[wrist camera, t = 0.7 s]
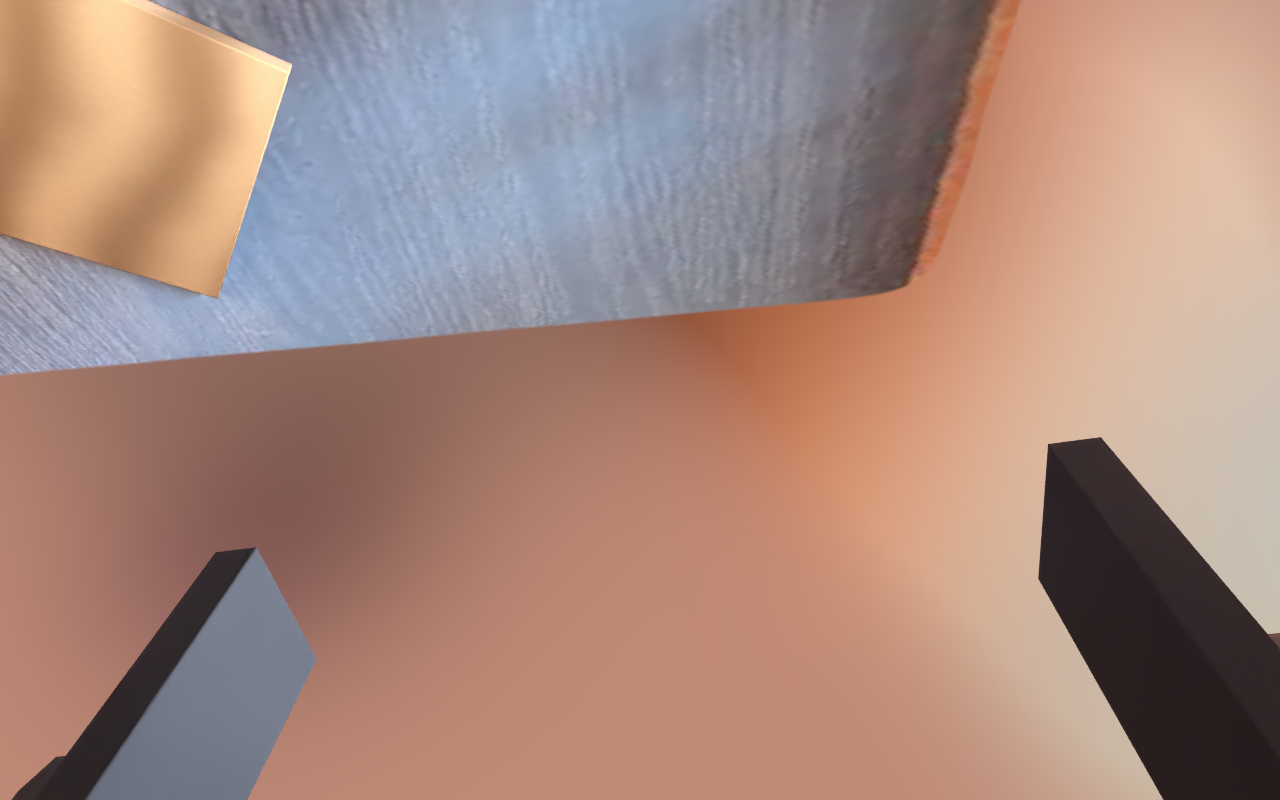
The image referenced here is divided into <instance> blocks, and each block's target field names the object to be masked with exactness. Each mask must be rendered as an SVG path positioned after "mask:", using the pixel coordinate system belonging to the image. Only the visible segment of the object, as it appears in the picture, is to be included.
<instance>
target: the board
mask: <svg viewBox="0 0 1280 800" xmlns="http://www.w3.org/2000/svg"><path fill="white" fill-rule="evenodd" d="M291 67H292V64H291V63H288V62H286V61H284V60H282V59H279V58H277V57H275V56H273V55H270V54H268V53H266V52H264V51H261V50H259V49H257V48H255V47H252V46H250V45H248V44H246V43H243V42H241V41H239V40H237V39H234V38H232V37H230V36H228V35H225V34H223V33H221V32H218V31H216V30H214V29H212V28H209V27H207V26H205V25H203V24H200V23H198V22H196V21H194V20H191V19H189V18H187V17H185V16H182V15H180V14H178V13H176V12H173V11H171V10H169V9H167V8H164V7H162V6H160V5H158V4H155V3H153V2H151V1H149V0H0V233H1V234H4V235H7V236H11V237H14V238H17V239H21V240H24V241H27V242H31V243H34V244H37V245H41V246H44V247H47V248H51V249H54V250H57V251H61V252H64V253H67V254H71V255H74V256H77V257H81V258H84V259H87V260H91V261H94V262H97V263H101V264H104V265H107V266H111V267H114V268H117V269H121V270H124V271H127V272H131V273H134V274H137V275H141V276H144V277H147V278H151V279H154V280H157V281H161V282H164V283H167V284H171V285H174V286H177V287H181V288H184V289H187V290H191V291H194V292H197V293H201V294H204V295H207V296H211V297H214V298H218V297H219V294H220V291H221V287H222V284H223V281H224V278H225V275H226V272H227V269H228V265H229V262H230V259H231V256H232V253H233V250H234V247H235V243H236V240H237V237H238V234H239V231H240V228H241V225H242V221H243V218H244V215H245V212H246V209H247V206H248V202H249V199H250V196H251V193H252V190H253V187H254V184H255V180H256V177H257V174H258V171H259V168H260V165H261V162H262V158H263V155H264V152H265V149H266V146H267V143H268V140H269V136H270V133H271V130H272V127H273V124H274V121H275V117H276V114H277V111H278V108H279V105H280V102H281V99H282V95H283V92H284V89H285V86H286V83H287V80H288V77H289V73H290V70H291Z"/></svg>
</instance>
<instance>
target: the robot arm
mask: <svg viewBox="0 0 1280 800" xmlns="http://www.w3.org/2000/svg"><path fill="white" fill-rule="evenodd" d="M1038 578H1039V581H1040V582H1041V584H1042V586H1043V588H1044V589H1045V591H1046V593H1047V595H1048V596H1049V598H1050V600H1051V601H1052V604H1053V605H1054V607H1055V609H1056V611H1057V612H1058V614H1059V616H1060V618H1061V619H1062V621H1063V623H1064V625H1065V626H1066V628H1067V630H1068V632H1069V633H1070V635H1071V637H1072V639H1073V641H1074V642H1075V644H1076V646H1077V648H1078V650H1079V651H1080V653H1081V655H1082V656H1083V658H1084V660H1085V662H1086V664H1087V665H1088V667H1089V669H1090V671H1091V673H1092V674H1093V676H1094V678H1095V679H1096V681H1097V683H1098V685H1099V687H1100V688H1101V690H1102V692H1103V694H1104V695H1105V697H1106V699H1107V701H1108V703H1109V704H1110V706H1111V708H1112V709H1113V711H1114V713H1115V715H1116V717H1117V718H1118V720H1119V722H1120V724H1121V726H1122V727H1123V729H1124V731H1125V733H1126V734H1127V736H1128V738H1129V740H1130V741H1131V743H1132V745H1133V747H1134V748H1135V750H1136V752H1137V754H1138V756H1139V757H1140V759H1141V761H1142V762H1143V764H1144V766H1145V768H1146V770H1147V772H1148V773H1149V775H1150V776H1151V779H1152V780H1153V782H1154V784H1155V786H1156V787H1157V789H1158V791H1159V793H1160V795H1161V796H1162V798H1163V800H1280V633H1276V634H1267V633H1266V632H1265V631H1264V629H1263V628H1262V627H1261V626H1260V625H1259V624H1258V622H1257V621H1256V620H1255V619H1254V618H1253V616H1252V615H1251V614H1250V613H1249V612H1248V610H1247V609H1246V608H1245V607H1244V606H1243V605H1242V603H1241V602H1240V601H1239V600H1238V599H1237V597H1236V596H1235V595H1234V594H1233V593H1232V592H1231V590H1230V589H1229V588H1228V587H1227V586H1226V585H1225V583H1224V582H1223V581H1222V580H1221V579H1220V577H1219V576H1218V575H1217V574H1216V573H1215V572H1214V570H1213V569H1212V568H1211V567H1210V566H1209V564H1208V563H1207V562H1206V561H1205V560H1204V559H1203V557H1202V556H1201V555H1200V554H1199V553H1198V551H1196V549H1195V548H1194V547H1193V546H1192V544H1191V543H1190V542H1189V541H1188V540H1187V539H1186V537H1185V536H1184V535H1183V534H1182V533H1181V531H1180V530H1179V529H1178V528H1177V527H1176V526H1175V524H1174V523H1173V522H1172V521H1171V520H1170V519H1169V517H1168V516H1167V515H1166V514H1165V513H1164V511H1163V510H1162V509H1161V508H1160V507H1159V505H1158V504H1157V503H1156V502H1155V501H1154V500H1153V498H1152V497H1151V496H1150V495H1149V494H1148V492H1147V491H1146V490H1145V489H1144V488H1143V487H1142V485H1141V484H1140V483H1139V482H1138V481H1137V479H1136V478H1135V477H1134V476H1133V475H1132V474H1131V472H1130V471H1129V470H1128V469H1127V468H1126V467H1125V465H1124V464H1123V463H1122V462H1121V461H1120V459H1119V458H1118V457H1117V456H1116V455H1115V454H1114V452H1113V451H1112V450H1111V449H1110V448H1109V447H1108V445H1107V444H1106V443H1105V442H1104V441H1103V439H1102V438H1100V437H1099V438H1092V439H1084V440H1076V441H1069V442H1061V443H1054V444H1048V454H1047V468H1046V481H1045V495H1044V508H1043V523H1042V537H1041V550H1040V564H1039V577H1038ZM315 661H316V657H315V655H314V653H313V651H312V650H311V648H310V646H309V644H308V642H307V640H306V638H305V636H304V635H303V633H302V631H301V629H300V627H299V625H298V623H297V622H296V620H295V618H294V616H293V614H292V612H291V611H290V609H289V607H288V605H287V603H286V601H285V600H284V598H283V596H282V594H281V592H280V590H279V589H278V587H277V585H276V583H275V581H274V579H273V577H272V576H271V574H270V572H269V570H268V568H267V566H266V564H265V563H264V561H263V559H262V557H261V555H260V553H259V551H258V550H257V548H256V547H255V548H247V549H240V550H232V551H224V552H216V553H215V554H214V555H213V557H212V558H211V560H210V561H209V562H208V564H207V565H206V566H205V568H204V569H203V571H202V572H201V573H200V574H199V576H198V577H197V579H196V580H195V581H194V583H193V584H192V585H191V587H190V588H189V589H188V591H187V592H186V593H185V595H184V596H183V598H182V599H181V600H180V602H179V603H178V604H177V606H176V607H175V608H174V610H173V611H172V612H171V614H170V615H169V617H168V618H167V619H166V621H165V622H164V623H163V625H162V626H161V627H160V629H159V630H158V631H157V633H156V634H155V636H154V637H153V638H152V640H151V641H150V643H149V644H148V645H147V647H146V648H145V649H144V650H143V652H142V653H141V655H140V656H139V657H138V659H137V660H136V661H135V663H134V664H133V665H132V667H131V668H130V669H129V671H128V672H127V674H126V675H125V677H124V678H123V679H122V680H121V682H120V683H119V684H118V686H117V687H116V688H115V690H114V691H113V693H112V694H111V695H110V697H109V698H108V699H107V701H106V702H105V703H104V705H103V706H102V707H101V709H100V710H99V712H98V713H97V714H96V716H95V717H94V718H93V720H92V721H91V722H90V724H89V725H88V726H87V728H86V729H85V730H84V732H83V733H82V735H81V736H80V738H79V739H78V740H77V741H76V743H75V744H74V745H73V747H72V748H71V750H70V751H69V752H68V754H67V755H66V756H61V757H56V758H54V759H53V760H52V761H51V762H50V763H49V764H48V765H47V766H46V767H45V768H43V769H42V770H41V771H40V772H39V773H38V774H37V775H36V776H35V777H34V778H32V779H31V780H30V781H29V782H28V783H27V784H26V785H25V786H23V787H22V788H21V789H20V790H19V791H18V792H17V794H16V795H15V796H14V798H13V799H12V800H248V797H249V796H250V793H251V791H252V789H253V787H254V785H255V783H256V781H257V779H258V777H259V775H260V773H261V771H262V769H263V767H264V765H265V763H266V761H267V759H268V757H269V755H270V753H271V751H272V749H273V747H274V745H275V742H276V740H277V738H278V736H279V734H280V732H281V730H282V728H283V726H284V724H285V722H286V720H287V718H288V716H289V714H290V712H291V710H292V708H293V706H294V704H295V702H296V700H297V698H298V696H299V694H300V692H301V690H302V687H303V685H304V683H305V681H306V679H307V677H308V675H309V673H310V671H311V669H312V667H313V665H314V663H315Z"/></svg>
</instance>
